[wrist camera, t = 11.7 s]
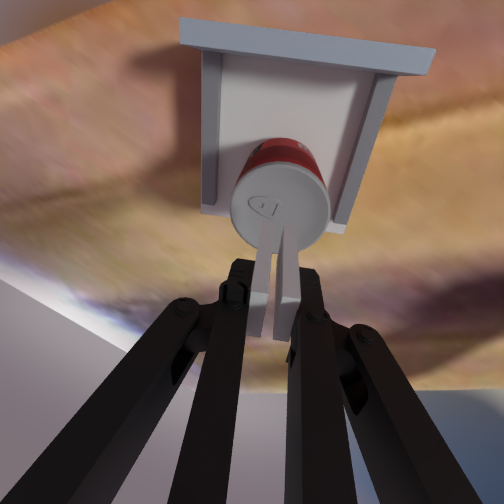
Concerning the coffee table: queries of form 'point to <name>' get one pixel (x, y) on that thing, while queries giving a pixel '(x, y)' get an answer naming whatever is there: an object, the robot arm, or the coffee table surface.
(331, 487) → the robot arm
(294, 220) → the canned food
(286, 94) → the dock
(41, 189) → the coffee table surface
